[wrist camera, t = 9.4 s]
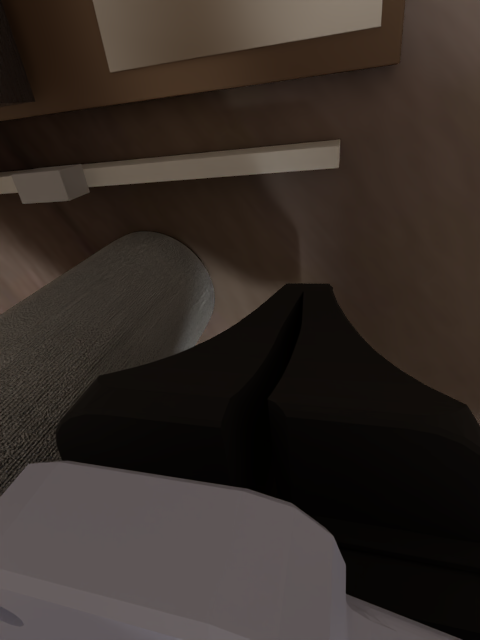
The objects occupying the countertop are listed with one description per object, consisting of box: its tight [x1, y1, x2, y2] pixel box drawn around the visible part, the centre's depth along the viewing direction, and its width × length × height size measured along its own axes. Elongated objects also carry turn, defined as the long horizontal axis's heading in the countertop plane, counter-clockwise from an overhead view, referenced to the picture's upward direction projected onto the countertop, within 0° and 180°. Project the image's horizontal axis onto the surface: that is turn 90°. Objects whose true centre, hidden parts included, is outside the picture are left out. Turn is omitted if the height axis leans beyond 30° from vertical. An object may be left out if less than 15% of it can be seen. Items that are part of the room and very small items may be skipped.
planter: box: [0, 231, 215, 497], centre depth 10 cm, size 4×4×10 cm
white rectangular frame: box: [0, 139, 340, 204], centre depth 13 cm, size 17×10×3 cm, turn 97°
